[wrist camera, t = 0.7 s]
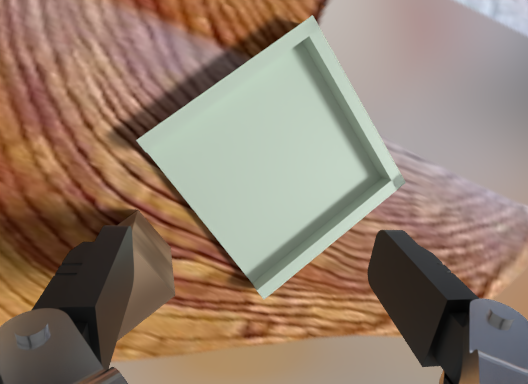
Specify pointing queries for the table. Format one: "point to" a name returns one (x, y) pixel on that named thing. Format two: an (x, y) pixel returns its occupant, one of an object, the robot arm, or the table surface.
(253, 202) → the tray
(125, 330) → the block
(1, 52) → the table surface
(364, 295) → the table surface
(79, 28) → the table surface
